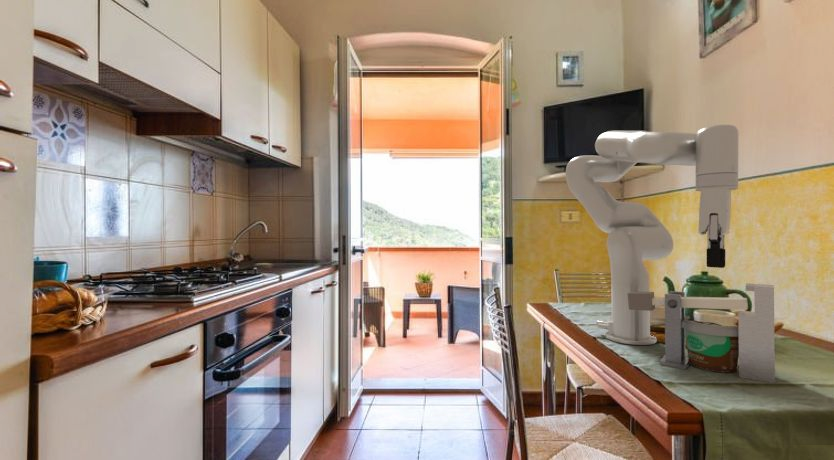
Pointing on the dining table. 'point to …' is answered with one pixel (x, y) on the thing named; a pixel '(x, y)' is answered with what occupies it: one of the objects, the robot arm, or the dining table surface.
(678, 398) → the dining table surface
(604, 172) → the robot arm
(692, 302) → the beige long bar
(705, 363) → the food container
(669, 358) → the hinge post
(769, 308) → the post
